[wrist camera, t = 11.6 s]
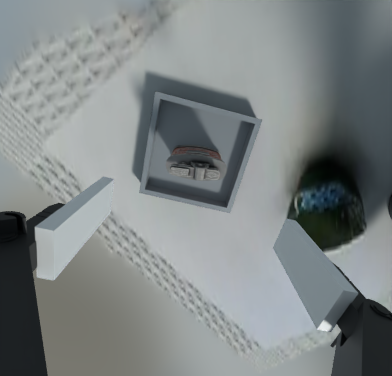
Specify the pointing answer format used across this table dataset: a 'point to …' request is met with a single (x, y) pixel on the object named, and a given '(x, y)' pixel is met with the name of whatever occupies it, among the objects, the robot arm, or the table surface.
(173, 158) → the lighter
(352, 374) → the robot arm
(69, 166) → the table surface
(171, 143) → the tray
